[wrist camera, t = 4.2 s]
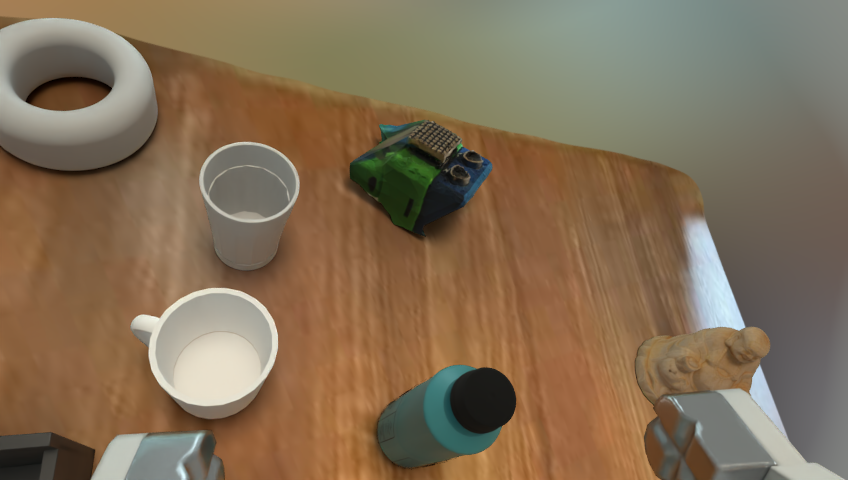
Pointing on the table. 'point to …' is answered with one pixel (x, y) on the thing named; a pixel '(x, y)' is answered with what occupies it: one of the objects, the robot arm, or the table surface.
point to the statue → (700, 361)
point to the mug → (211, 350)
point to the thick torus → (78, 129)
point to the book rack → (44, 458)
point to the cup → (248, 201)
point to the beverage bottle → (447, 416)
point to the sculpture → (419, 173)
